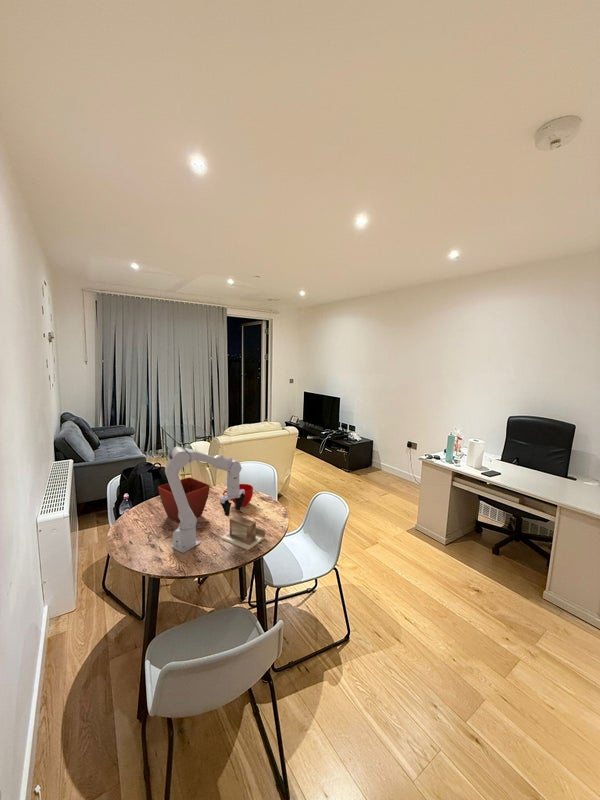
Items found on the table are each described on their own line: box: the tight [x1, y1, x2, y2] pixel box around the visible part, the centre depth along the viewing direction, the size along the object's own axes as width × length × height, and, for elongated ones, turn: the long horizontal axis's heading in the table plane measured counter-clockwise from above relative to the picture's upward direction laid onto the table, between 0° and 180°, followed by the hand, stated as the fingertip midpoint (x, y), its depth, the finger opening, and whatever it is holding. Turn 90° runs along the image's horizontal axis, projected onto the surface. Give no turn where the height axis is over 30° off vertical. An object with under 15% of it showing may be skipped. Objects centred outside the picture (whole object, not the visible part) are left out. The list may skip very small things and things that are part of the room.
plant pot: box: [157, 477, 211, 524], centre depth 169 cm, size 19×19×17 cm
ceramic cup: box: [222, 483, 254, 508], centre depth 186 cm, size 13×17×10 cm
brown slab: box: [229, 515, 257, 543], centre depth 149 cm, size 4×12×8 cm, turn 58°
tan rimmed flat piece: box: [221, 526, 266, 551], centre depth 150 cm, size 12×16×4 cm
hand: (232, 512), depth 153 cm, fingers open, 7 cm apart
